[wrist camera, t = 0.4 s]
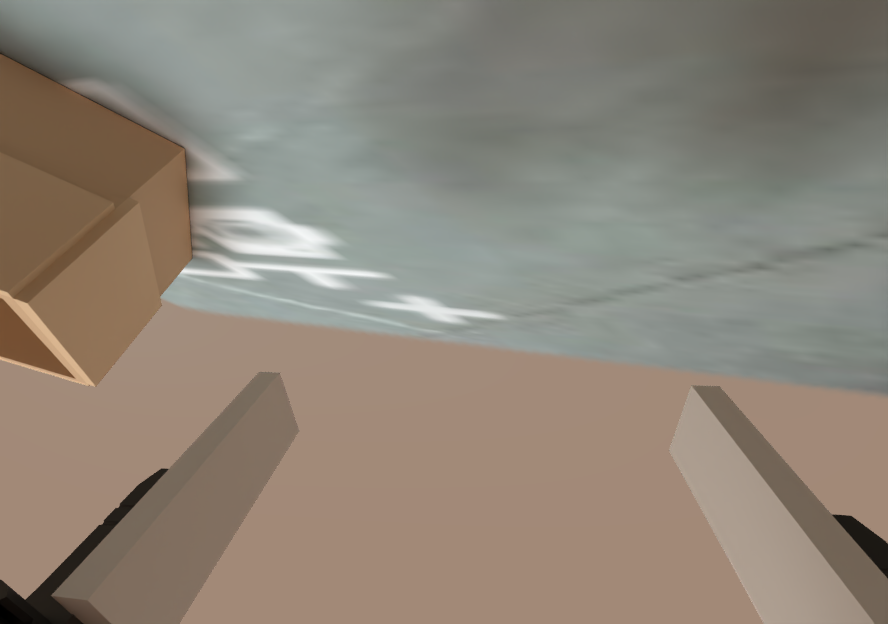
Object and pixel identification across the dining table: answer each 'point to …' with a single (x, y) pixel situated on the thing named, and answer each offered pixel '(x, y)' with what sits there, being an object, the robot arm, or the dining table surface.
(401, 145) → the dining table surface
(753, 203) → the dining table surface
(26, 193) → the carton
